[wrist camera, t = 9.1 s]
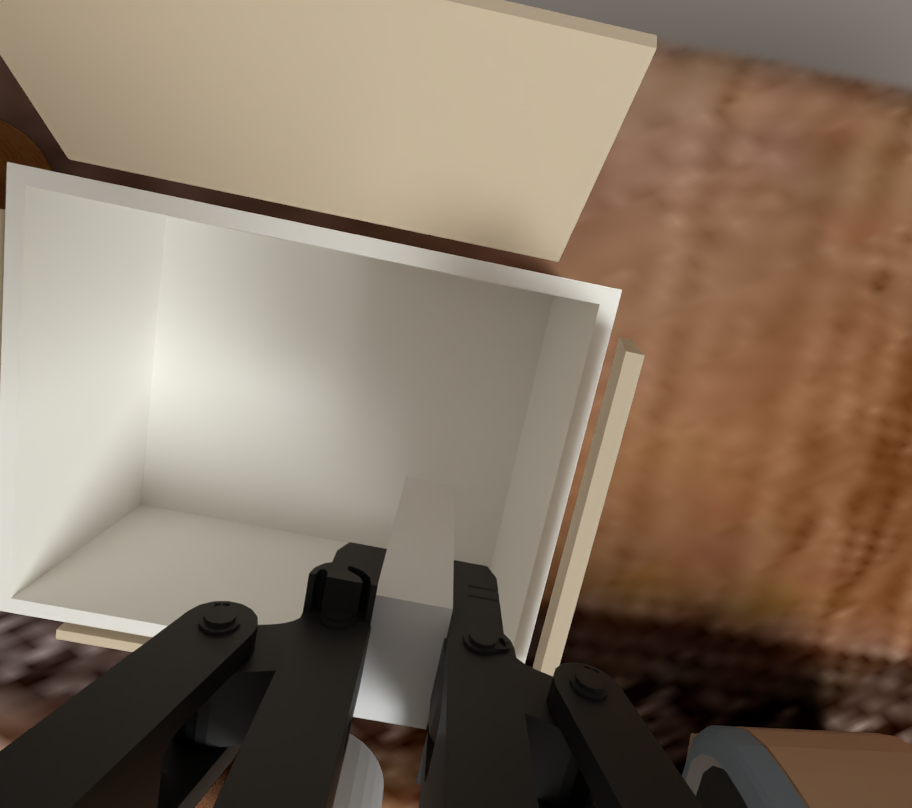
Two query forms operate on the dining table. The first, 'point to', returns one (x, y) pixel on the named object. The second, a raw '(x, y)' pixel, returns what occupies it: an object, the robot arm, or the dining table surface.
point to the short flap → (589, 504)
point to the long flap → (342, 104)
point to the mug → (359, 778)
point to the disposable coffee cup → (17, 154)
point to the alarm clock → (798, 768)
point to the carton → (265, 406)
